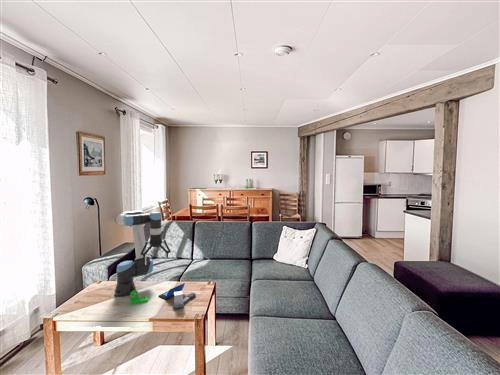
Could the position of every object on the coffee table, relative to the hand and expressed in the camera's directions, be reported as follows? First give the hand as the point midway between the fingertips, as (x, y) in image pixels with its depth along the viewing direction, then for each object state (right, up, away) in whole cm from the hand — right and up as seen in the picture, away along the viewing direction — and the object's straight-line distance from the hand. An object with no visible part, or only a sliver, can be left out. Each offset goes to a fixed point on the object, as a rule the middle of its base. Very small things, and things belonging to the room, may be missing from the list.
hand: (156, 263), depth 196 cm
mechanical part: (-13, -29, +3) cm, 32 cm away
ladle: (+20, -29, +2) cm, 35 cm away
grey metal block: (+17, -26, -5) cm, 32 cm away
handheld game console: (+8, -29, +13) cm, 32 cm away
